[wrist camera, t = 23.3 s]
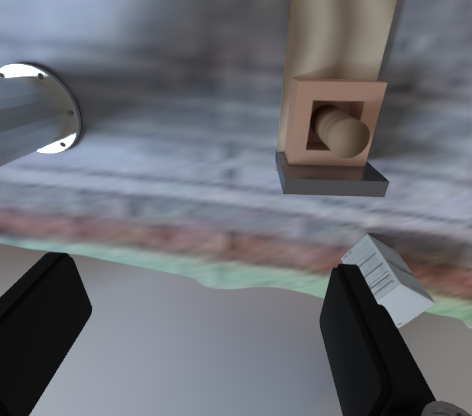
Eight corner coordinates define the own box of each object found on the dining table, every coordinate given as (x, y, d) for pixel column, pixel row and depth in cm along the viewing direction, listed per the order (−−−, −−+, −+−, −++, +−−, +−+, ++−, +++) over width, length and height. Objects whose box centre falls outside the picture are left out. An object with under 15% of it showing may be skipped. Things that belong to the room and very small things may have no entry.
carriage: (284, 152, 39) (288, 164, 35) (292, 78, 34) (298, 81, 30) (352, 154, 39) (364, 166, 35) (370, 79, 34) (387, 82, 30)
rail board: (275, 167, 42) (275, 170, 41) (296, -79, 28) (299, -85, 27) (350, 169, 42) (353, 172, 41) (410, -79, 28) (418, -86, 27)
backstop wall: (275, 161, 42) (283, 193, 32) (276, 148, 41) (285, 178, 31) (352, 163, 41) (384, 196, 31) (355, 150, 40) (389, 181, 30)
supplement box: (396, 249, 49) (438, 304, 38) (367, 273, 53) (397, 330, 42) (367, 231, 48) (402, 283, 37) (339, 257, 51) (363, 312, 40)
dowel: (308, 134, 37) (326, 158, 28) (312, 104, 35) (333, 119, 26) (336, 135, 37) (364, 159, 28) (343, 104, 35) (374, 120, 26)
